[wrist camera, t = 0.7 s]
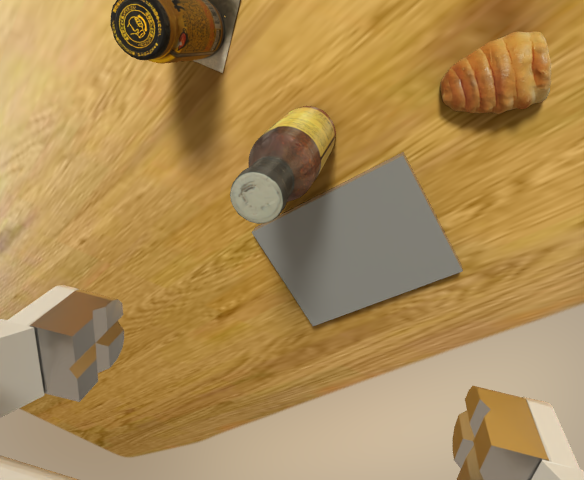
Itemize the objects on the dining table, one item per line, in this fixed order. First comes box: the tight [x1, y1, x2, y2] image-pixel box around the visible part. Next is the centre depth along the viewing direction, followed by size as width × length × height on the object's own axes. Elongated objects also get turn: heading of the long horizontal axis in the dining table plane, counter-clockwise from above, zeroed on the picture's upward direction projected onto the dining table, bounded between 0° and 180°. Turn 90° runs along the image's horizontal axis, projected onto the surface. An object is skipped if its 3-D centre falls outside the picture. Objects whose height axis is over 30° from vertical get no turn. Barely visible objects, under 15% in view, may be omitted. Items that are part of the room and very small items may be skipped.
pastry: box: [440, 32, 551, 114], centre depth 40 cm, size 9×7×4 cm
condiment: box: [111, 0, 240, 73], centre depth 41 cm, size 7×8×12 cm
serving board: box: [252, 152, 463, 326], centre depth 52 cm, size 20×15×2 cm
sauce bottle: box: [230, 106, 336, 223], centre depth 40 cm, size 7×6×20 cm
